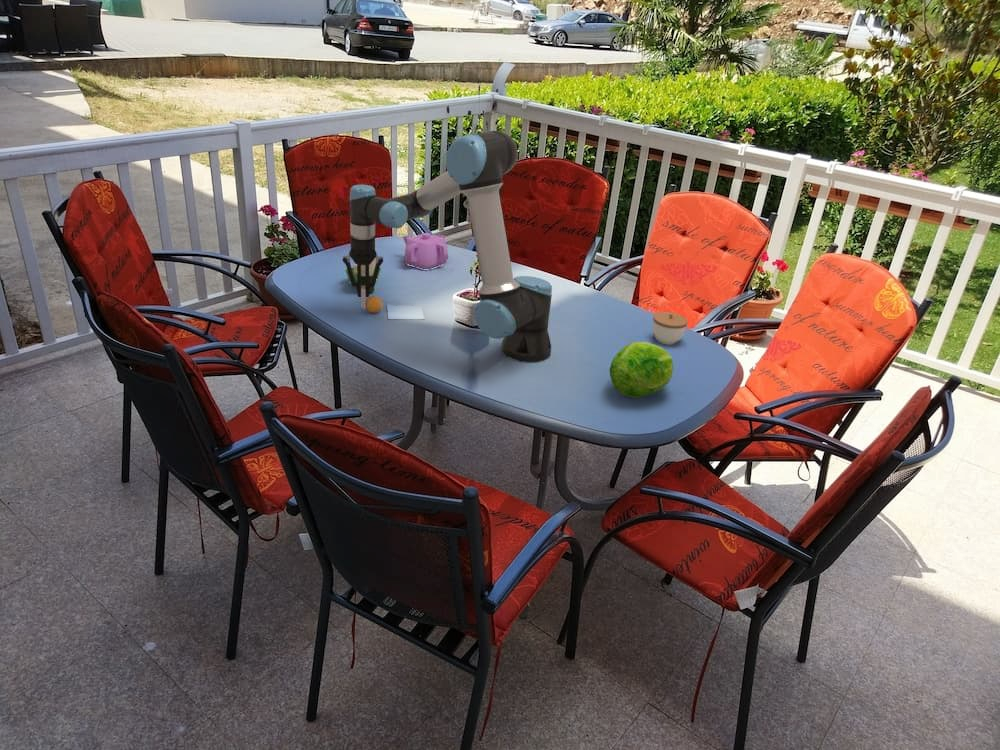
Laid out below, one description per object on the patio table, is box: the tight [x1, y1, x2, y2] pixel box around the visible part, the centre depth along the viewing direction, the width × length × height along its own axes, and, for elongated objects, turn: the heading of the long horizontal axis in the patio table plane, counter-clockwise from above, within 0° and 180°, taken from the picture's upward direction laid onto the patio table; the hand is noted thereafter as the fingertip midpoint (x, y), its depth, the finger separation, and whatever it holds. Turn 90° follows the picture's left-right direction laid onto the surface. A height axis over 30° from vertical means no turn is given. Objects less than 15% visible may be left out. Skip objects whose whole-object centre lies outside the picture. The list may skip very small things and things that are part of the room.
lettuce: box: [609, 341, 674, 399], centre depth 194 cm, size 15×23×16 cm
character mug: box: [352, 258, 376, 294], centre depth 245 cm, size 11×7×13 cm, turn 147°
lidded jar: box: [652, 311, 688, 346], centre depth 227 cm, size 11×11×9 cm
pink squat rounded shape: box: [402, 232, 449, 269], centre depth 275 cm, size 17×17×12 cm
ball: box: [365, 295, 383, 314], centre depth 231 cm, size 6×6×6 cm
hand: (363, 305), depth 231 cm, fingers closed
